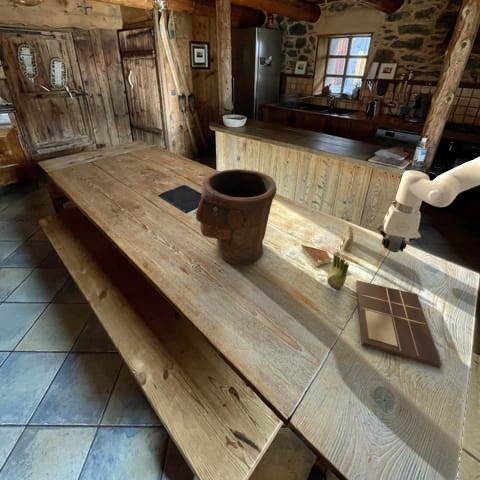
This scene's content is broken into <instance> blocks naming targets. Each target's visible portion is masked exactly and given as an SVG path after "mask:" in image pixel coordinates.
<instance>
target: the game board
mask: <svg viewBox="0 0 480 480" xmlns="http://www.w3.org/2000/svg"><path fill="white" fill-rule="evenodd" d="M355 289H356V299H357V309H358V321H359V330H360V339H361V346H362V347H365V348H368V349H372V350H376V351H379V352H383V353H386V354H390V355H392V356H396V357H400V358H403V359H407V360H409V361H413V362H417V363H421V364H424V365H427V366H430V367H435V368H438V369H440V368H441V367H442V362H441V360H440V359H441V358H440V356H439V353H438V351H437V347H436V345H435V342H434V339H433V336H432V333H431V330H430V327H429V325H428V321H427V318H426V316H425V313H424V311H423V307H422V304H421V302H420V299H419V295H418V294H417V293H414V292H410V291H405V290H401V289H396V288H392V287H389V286H383V285H381V284H380V285H379V284H375V283H371V282H367V281H361V280H355Z"/></svg>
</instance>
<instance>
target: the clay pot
mask: <svg viewBox="0 0 480 480" xmlns="http://www.w3.org/2000/svg"><path fill="white" fill-rule="evenodd" d="M277 190H278V189H277V183H276V181H275V179H274V178H273V177H272V176H270V175H269V174H267V173H264V172H262V171H258V170H251V169H244V168H243V169H241V168H231V169H224V170H219V171H216V172H213V173H211V174H209V175H207V176H206V177H204V180H203V182H202V184H201V198H200V201H199V204H198V206H197V209H196V214H195V219H196V221H197V222H199V224H200V225H199V227H200V233H201V234H202V236H204V237H205V238H210V239H215V240H216V245H217V248H216V252H217V254H218V256H219V257H220V259H221V260H223V261H224V262H225V263H228V264H230V265H233V266H246V265H251V264H254V263H255V262H256V261H258V260H260V259H262V256H263V255H264V247H263V245H264V239H265V237H266V232H267V226H268V221H269V217H270V213H271V207H272V204H273V200H274V199H275V196H276V194H277Z"/></svg>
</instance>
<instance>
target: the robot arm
mask: <svg viewBox="0 0 480 480" xmlns="http://www.w3.org/2000/svg"><path fill="white" fill-rule="evenodd" d="M477 186H480V156H478V157H477V158H475V159H473V160H470V161H467V162H465V163H463V164H461V165H458V166H456V167H454V168H452V169H450V170H448V171H445V172H444V173H441V174H440V175H438V176H436V178H434V179H433V180H430V176H429V175H428V174H427V173H424V172H422V171H419V170H412V169H411V170H406V171H404V173H403V174H402V176H401V179H400V183H399V186H398V189H397V192H396V196H395V197H394V199H392V200H389V205H390V206H389V209H388V210H387V212H386V214H385V216H384V219H383V221H382V222H381V223H379V224H377V225H376V226H375V230H376V231H377V232H378V233H379V234H380V235H381V236H382V240H381V245H383V249H387V245H388V242H389V239H388V238H389V236H391V235H393V236H397V237H399V238H400V239H401V240H402V241H403V242H402V245H401V248H400V251H399V252H404V250H405V249H406V247H407V245H408V244H409V243H410V242H411V241H414V240H416V239H419V238H422V235H421V233H420V231H419V227H420V224H421V223H420V222H421V217H422V216H421V215H422V214H421V212H420V209H421V205H422V203H423V202H425V203H426V204H429V205H431V206H434V207H436V208H437V207H438V208H445V207H448V206H449V205H451V204H452V203H453V201H454V200H455V199H456V197H457V196H458V195H459V194H461V193H462V192H464V191H468V190H470V189H472V188H475V187H477Z"/></svg>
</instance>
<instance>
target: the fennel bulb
mask: <svg viewBox="0 0 480 480" xmlns="http://www.w3.org/2000/svg"><path fill="white" fill-rule="evenodd" d="M349 267H350V264H349V262H347V261H346V259H345V257H342V258H341V256H340V255H339V253H338V254H337V252H334V253H333V257H332V263H331V265H330V267H329V270H328V273H327V278H326V280H327V284H328V285H329V286H330V287H331V288H332V289H335V290H341V289H342V288H343V287H344V285H345V283H346V280H347V275H348V270H349Z"/></svg>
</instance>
